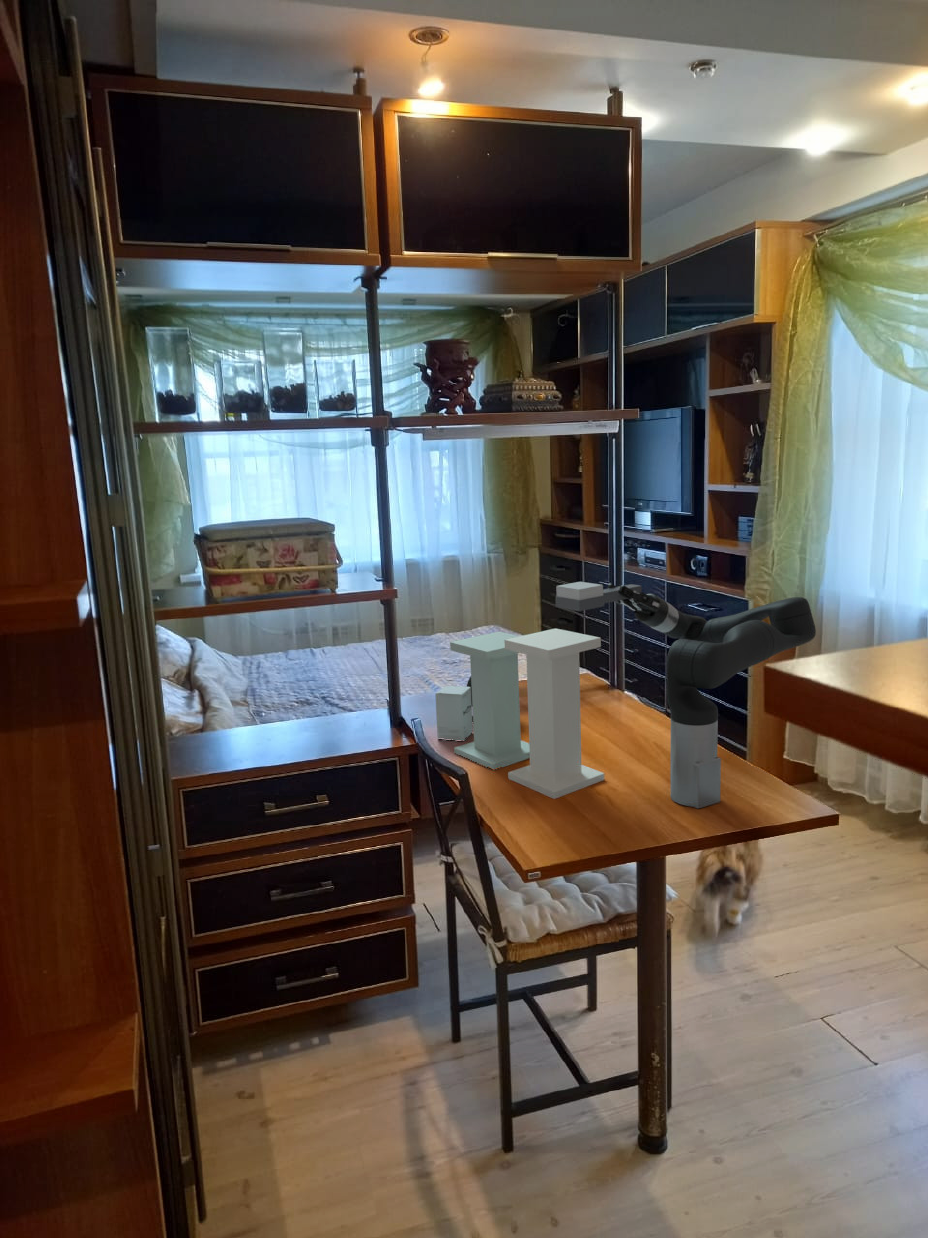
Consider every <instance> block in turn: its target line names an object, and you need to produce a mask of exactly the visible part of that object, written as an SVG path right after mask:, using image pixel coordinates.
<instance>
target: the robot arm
mask: <svg viewBox="0 0 928 1238" xmlns="http://www.w3.org/2000/svg"><path fill="white" fill-rule="evenodd" d="M619 586H620V589H619V594H621V595H622V596H624V597H626V598H627V599H624V600H619V601H614V602H615V604H617V605H619V606H622V605H624V606H625V607H628V609H630V610H632V611H633V612H634V616H635V618H636V619H637V620H638V621H639V622H641V623H643V624H645V625H646V626H648V627H650V628H651V629H653V630H656V631H658V632H660V633H662V634H664V635H665V636H667V637H669V638H670V639H676V640H675V641H674V642H673V643H672V644H671V646H670V647H669V650H668V651H667V652H668V653H667V656H666V666H665V667H666V685H667V686H666V687H667V690H666V691H667V704H668V707H669V710H670V711H669V712H670V774H669V775H670V799H671V800H672V802H675V803H676V804H680V805H682V806H684V807H685V806H686V807H693V808H695V809H701V808H704V807H707V806H711V805H714V804H715V805H716V804H719V803H720V802H721V778H722V777H721V775H722V774H721V770H722V768H721V767H722V765H721V764H722V759H721V757H720V756H718V735H719V734H718V727H719V725H718V723H719V721H718V720H719V709H718V706H717V705H716V703H715V702H713V701H712V700H710V699H709V698H707V697H706V696H704V695H703V694H702V693H701V692H700V691H699V689H705V690H712V689H715V688H718V687H720V686H721V685H723V684H724V683H726V682H727V681H728V680H730V679H731V678H733V677H734V676H735V675H737V674H738V673H740V672H743V671H745V670H747V669H748V668H750V667H753V666H755V665H758V664H761V663H763V662H764V661H766V660H768V659H770V658H772V657H773V656H775V655H777V654H779V653H782V652H784V651H787V650H791V649H793V648H797V647H799V646H802V645H804V644H805V645H806V644H807V643H809V642H811V641H813V640H814V638H815V637H816V635H817V628H816V625H815V621H814V618H813V614H812V609H811V607H810V604H809V601H808V599H807V598H805V597H802V596H794V597H789V598H788V597H787V598H783V599H780V600H776V601H773V602H770V603H766V604H763V605H760V606H757V607H753V608H750V609H747V610H745V611H742V612H739V613H735V614H730V615H726V616H720V617H715V618H711V619H709V620H706V618H704V617H702V616H699V615H690V614H687V613H683V612H681V611H680V610H678V609H677V608H675V607H674V606H673V605H672V604H670V603H669V602H667V601H666V600H665V599H663V598H661V597H660V596H658V595H656V594H654V593H645V592H640V593H639V592H636V591H635V590H634V591H632V590H631V589H629V588H627V587H626V586H624V585H623V584H622V585H621V584H620V585H619ZM614 587H617V585H615V584H613V583H608V584H607V588H606V589H609V588H614ZM767 618H769V621H770V623H768V622H766V621H763V620H765V619H767Z"/></svg>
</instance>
